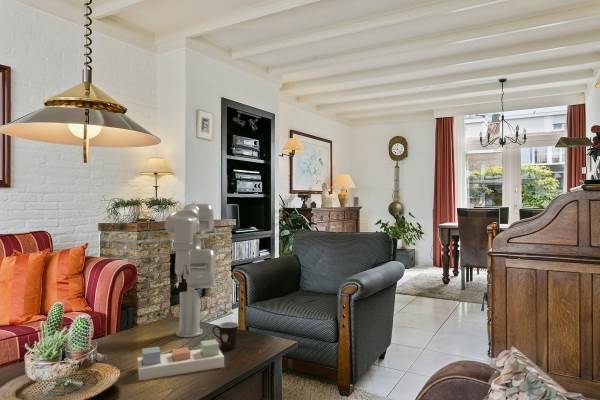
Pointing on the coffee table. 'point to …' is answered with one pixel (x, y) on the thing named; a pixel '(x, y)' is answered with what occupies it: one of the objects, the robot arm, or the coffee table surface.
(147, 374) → the button panel
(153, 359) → the slate button
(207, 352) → the sage button
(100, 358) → the rabbit figure
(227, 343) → the coffee mug
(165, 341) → the coffee table surface
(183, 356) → the terracotta button
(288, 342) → the coffee table surface
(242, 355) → the coffee table surface
